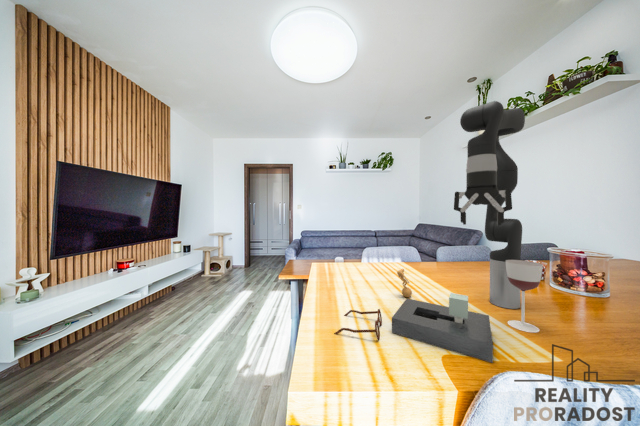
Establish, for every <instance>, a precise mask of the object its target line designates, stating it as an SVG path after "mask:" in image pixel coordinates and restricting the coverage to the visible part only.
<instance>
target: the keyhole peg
mask: <svg viewBox="0 0 640 426" xmlns="http://www.w3.org/2000/svg"><path fill="white" fill-rule="evenodd" d="M448 307H449V315H452V316H455V322H456V323H461V324H463V318H465V319H468V311H469V296H468V295H464V294H459V293H453V292H450V293H449V297H448Z"/></svg>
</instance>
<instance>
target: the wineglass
mask: <svg viewBox="0 0 640 426" xmlns="http://www.w3.org/2000/svg"><path fill="white" fill-rule="evenodd" d="M506 272H507V276H508V280H509V282H510V283H511V284H512V285H514V286H515V287H517V288H519V289H520V292H521V300H520V309H521V313H520V315H521V320H515V319H513V320H511V319H510V320H508V321H507V324H508V325H509V326H510V327H512V328H514V329H515V330H520V331H523V332H527V333H539V332H540V328H539V327H537V326H536V325H534V324H531V323H529V322H526V320H525V319H526V318H525V317H526V314H525V312H526V309H525V308H526V307H525V306H526V300H525V299H526V292H527V291H531V290H535V289H537V288H538V287H539V285H540V283H541V280H542V276H543V264H542V263H539V262H534V261H530V260H529V261H528V260H522V259H521V260H506Z"/></svg>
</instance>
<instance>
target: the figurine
mask: <svg viewBox="0 0 640 426" xmlns="http://www.w3.org/2000/svg"><path fill="white" fill-rule="evenodd" d="M404 272H405V269H404V268H402V269H399V270H397V272H396V273H397V276H398V278H400V279H401V281H402V286H403V288H402V289H401V294H402V296H403V297H405V298H410V297H411V296H412V295H413V292H412V290H411V288H410V287H407V286H406V285H408V284H410V281H409V280H408V279H407V277H406V276H405V273H404Z"/></svg>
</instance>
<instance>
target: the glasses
mask: <svg viewBox="0 0 640 426" xmlns="http://www.w3.org/2000/svg"><path fill="white" fill-rule="evenodd" d="M350 313H356V314H359V315H371V314H373V315H374V314H377V318H376V319H377V320H375V321H374V329H352V328H346V327H342V328H340V329H338V330H337V331H335V332H334V333H333V335H338V334H340V333H341V332H343V331H347V332H351V333H354V334H355V333H356V334H358V333H375V336H376V339H377V340H380V337H381V333H380V326H382V325H383V317H382V313H381V309H380V308H379V309H377V311H376V310H375V311H374V310H373V311H359V310H353V309H350V310H349V311H348V312H347V313H345V314H344V315H343V316H345V317H346V316H348V315H349V314H350Z"/></svg>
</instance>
